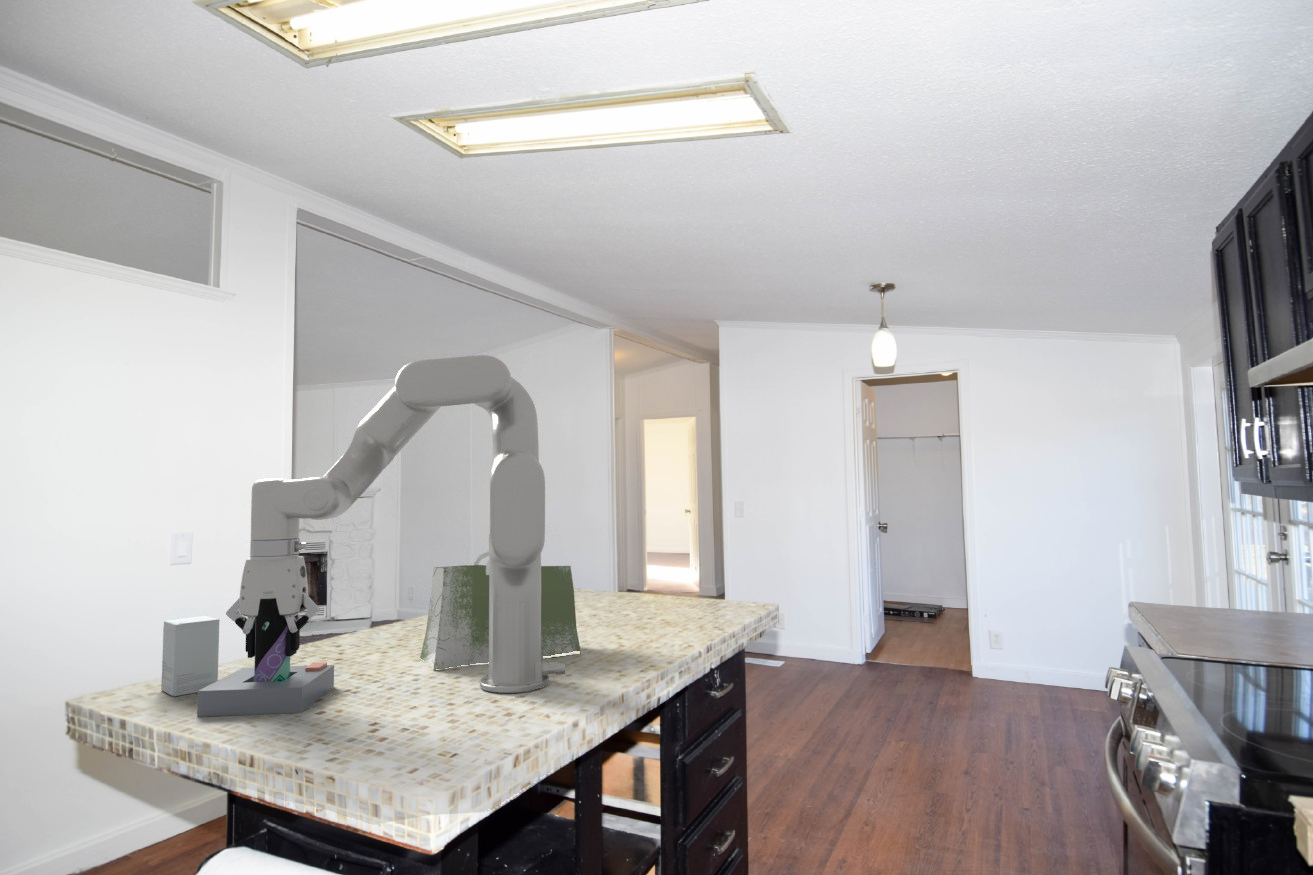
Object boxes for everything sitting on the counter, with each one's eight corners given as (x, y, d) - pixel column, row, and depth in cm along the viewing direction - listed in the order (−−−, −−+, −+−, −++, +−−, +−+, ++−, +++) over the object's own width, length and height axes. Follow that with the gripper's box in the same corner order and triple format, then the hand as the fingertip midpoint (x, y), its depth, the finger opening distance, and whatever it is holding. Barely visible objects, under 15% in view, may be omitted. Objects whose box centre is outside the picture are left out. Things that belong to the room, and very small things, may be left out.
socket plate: (333, 687, 137) (334, 661, 138) (301, 712, 121) (302, 683, 122) (242, 690, 136) (242, 664, 136) (197, 716, 120) (198, 687, 120)
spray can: (258, 699, 125) (261, 578, 126) (250, 693, 129) (252, 575, 130) (293, 693, 128) (295, 575, 130) (284, 687, 132) (286, 573, 134)
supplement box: (218, 689, 137) (220, 618, 138) (171, 697, 131) (174, 624, 132) (205, 682, 142) (207, 614, 143) (159, 690, 136) (162, 619, 137)
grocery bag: (560, 643, 175) (560, 544, 177) (582, 655, 163) (582, 547, 164) (419, 658, 161) (420, 550, 162) (431, 672, 148) (432, 554, 150)
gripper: (333, 547, 135) (331, 649, 134) (232, 549, 133) (230, 652, 132) (318, 550, 127) (316, 658, 126) (212, 552, 126) (209, 662, 124)
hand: (272, 654), depth 129 cm, fingers open, 5 cm apart
